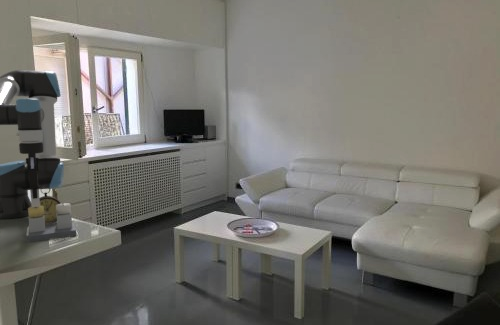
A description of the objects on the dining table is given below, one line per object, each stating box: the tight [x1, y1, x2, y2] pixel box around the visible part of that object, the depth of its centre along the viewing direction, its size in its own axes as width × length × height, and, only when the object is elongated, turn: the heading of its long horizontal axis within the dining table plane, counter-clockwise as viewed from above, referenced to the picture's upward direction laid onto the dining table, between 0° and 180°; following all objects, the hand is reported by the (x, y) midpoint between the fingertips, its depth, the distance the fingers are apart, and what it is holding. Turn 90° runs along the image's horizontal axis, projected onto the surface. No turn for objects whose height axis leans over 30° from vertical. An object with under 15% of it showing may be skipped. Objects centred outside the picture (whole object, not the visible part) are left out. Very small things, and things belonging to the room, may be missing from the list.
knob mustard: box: [28, 206, 44, 218], centre depth 145 cm, size 5×5×8 cm
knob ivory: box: [56, 202, 72, 215], centre depth 149 cm, size 5×5×8 cm
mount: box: [25, 211, 77, 243], centre depth 147 cm, size 14×16×7 cm
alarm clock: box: [39, 186, 62, 224], centre depth 157 cm, size 11×5×16 cm, turn 119°
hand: (35, 206), depth 144 cm, fingers closed
